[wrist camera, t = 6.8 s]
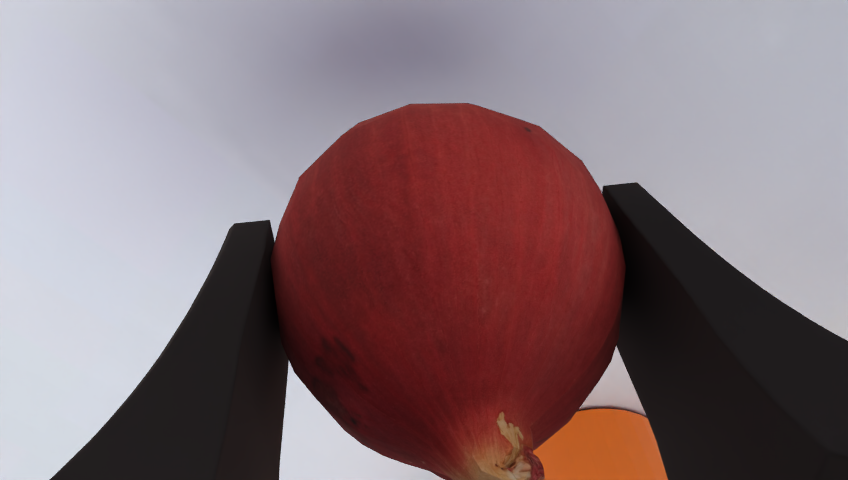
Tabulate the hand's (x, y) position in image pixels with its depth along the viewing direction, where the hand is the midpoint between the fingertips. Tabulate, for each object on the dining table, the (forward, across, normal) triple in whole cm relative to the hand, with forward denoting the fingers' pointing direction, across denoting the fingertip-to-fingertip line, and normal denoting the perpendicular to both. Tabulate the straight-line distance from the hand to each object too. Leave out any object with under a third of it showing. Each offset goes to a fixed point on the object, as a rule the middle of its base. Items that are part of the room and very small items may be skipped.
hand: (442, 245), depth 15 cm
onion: (+3, 0, 0) cm, 3 cm away
